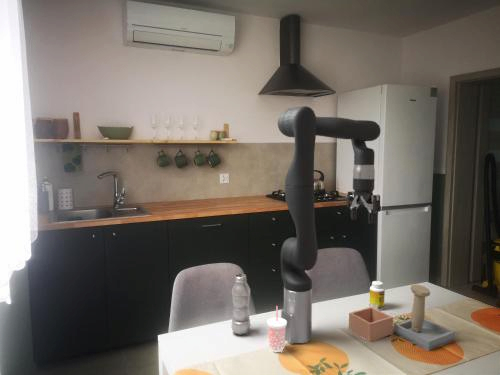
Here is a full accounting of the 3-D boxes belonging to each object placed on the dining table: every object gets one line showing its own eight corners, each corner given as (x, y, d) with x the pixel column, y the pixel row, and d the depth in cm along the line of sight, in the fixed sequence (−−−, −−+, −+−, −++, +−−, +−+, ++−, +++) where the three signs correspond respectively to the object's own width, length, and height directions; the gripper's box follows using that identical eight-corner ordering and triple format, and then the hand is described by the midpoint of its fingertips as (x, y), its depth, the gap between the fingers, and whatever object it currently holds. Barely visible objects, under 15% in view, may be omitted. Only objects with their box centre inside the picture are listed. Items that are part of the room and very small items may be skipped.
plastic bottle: (227, 334, 125) (227, 277, 123) (237, 326, 131) (237, 271, 129) (244, 338, 122) (244, 280, 120) (254, 330, 128) (253, 274, 126)
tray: (428, 351, 114) (428, 341, 114) (394, 333, 125) (394, 324, 125) (454, 340, 120) (455, 332, 120) (419, 324, 132) (419, 316, 131)
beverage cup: (274, 342, 120) (274, 300, 119) (290, 348, 116) (290, 305, 115) (263, 349, 115) (263, 306, 114) (279, 356, 111) (279, 312, 110)
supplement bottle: (379, 312, 142) (380, 286, 141) (366, 307, 146) (367, 282, 145) (386, 307, 146) (387, 282, 145) (373, 303, 150) (374, 279, 149)
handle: (416, 324, 129) (420, 284, 126) (429, 334, 123) (433, 292, 120) (404, 326, 128) (407, 285, 125) (416, 336, 121) (420, 293, 119)
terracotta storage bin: (369, 342, 120) (370, 324, 119) (348, 329, 128) (349, 312, 128) (392, 334, 125) (393, 317, 124) (370, 322, 133) (371, 306, 132)
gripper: (342, 176, 138) (341, 219, 140) (371, 178, 126) (369, 225, 127) (357, 175, 142) (356, 217, 143) (386, 178, 129) (385, 223, 131)
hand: (362, 221), depth 135 cm, fingers open, 8 cm apart
